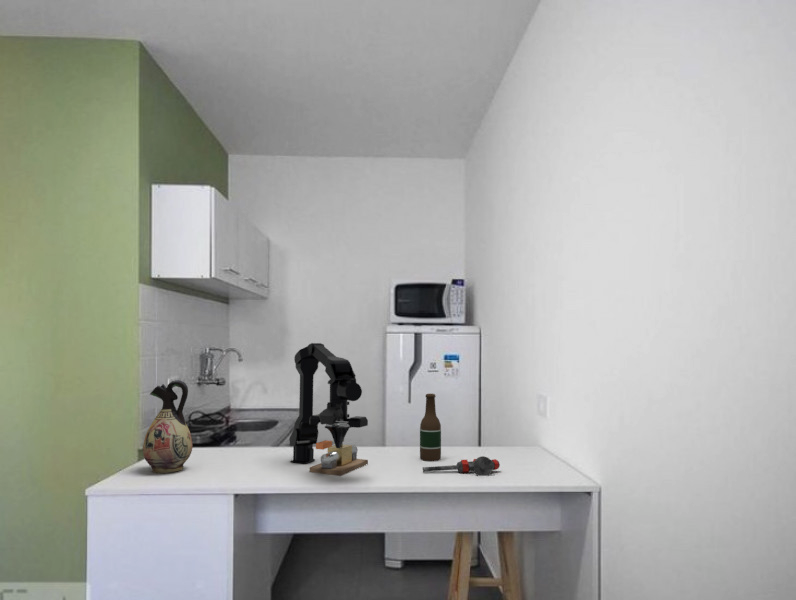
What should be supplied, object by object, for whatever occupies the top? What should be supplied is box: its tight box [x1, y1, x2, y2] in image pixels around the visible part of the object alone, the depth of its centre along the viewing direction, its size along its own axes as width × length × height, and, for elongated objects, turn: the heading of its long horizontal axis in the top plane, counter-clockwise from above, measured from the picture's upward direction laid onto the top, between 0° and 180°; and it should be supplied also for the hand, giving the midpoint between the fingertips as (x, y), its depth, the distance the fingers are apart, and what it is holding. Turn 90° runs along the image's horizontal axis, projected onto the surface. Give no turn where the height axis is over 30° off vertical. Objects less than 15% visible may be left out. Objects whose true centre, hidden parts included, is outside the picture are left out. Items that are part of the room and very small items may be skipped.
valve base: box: [309, 442, 369, 476], centre depth 191 cm, size 12×19×9 cm, turn 156°
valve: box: [422, 455, 501, 477], centre depth 189 cm, size 6×26×15 cm
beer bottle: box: [419, 393, 442, 462], centre depth 207 cm, size 8×8×24 cm
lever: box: [315, 439, 345, 450], centre depth 186 cm, size 15×3×2 cm, turn 158°
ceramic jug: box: [142, 379, 193, 474], centre depth 187 cm, size 17×15×30 cm
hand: (338, 448), depth 179 cm, fingers closed
